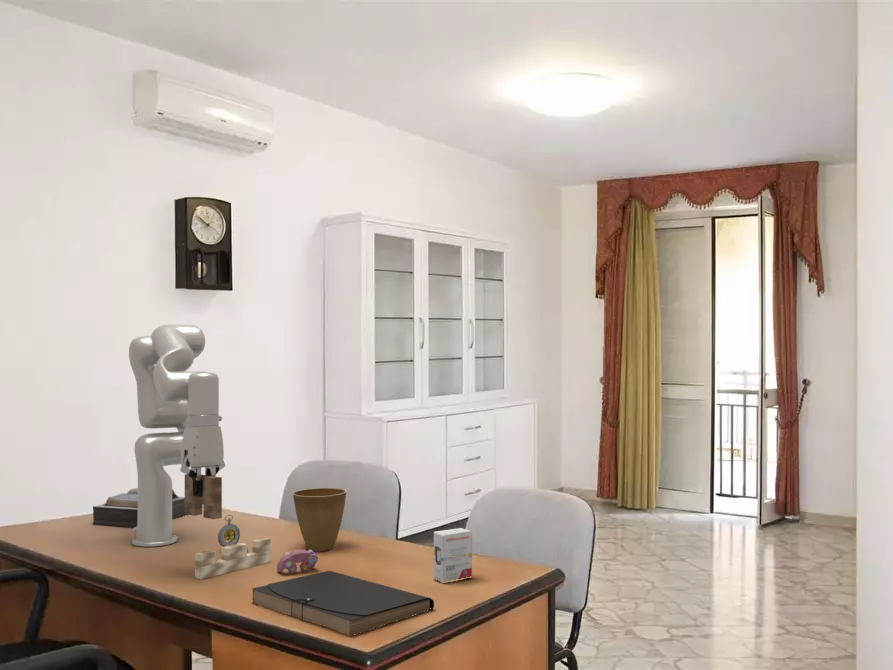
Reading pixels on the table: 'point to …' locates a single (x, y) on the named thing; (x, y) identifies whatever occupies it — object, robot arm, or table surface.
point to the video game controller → (297, 561)
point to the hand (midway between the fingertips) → (203, 494)
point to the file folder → (340, 601)
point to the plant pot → (319, 516)
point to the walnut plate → (204, 497)
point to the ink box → (452, 554)
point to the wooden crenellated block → (232, 558)
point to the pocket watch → (229, 534)
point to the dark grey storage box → (129, 510)
